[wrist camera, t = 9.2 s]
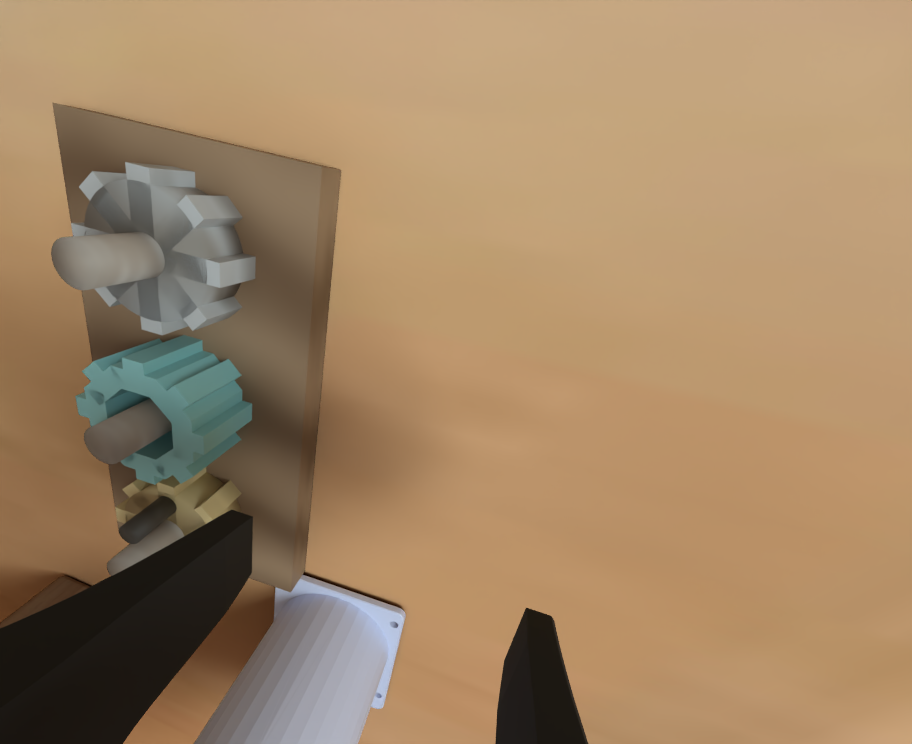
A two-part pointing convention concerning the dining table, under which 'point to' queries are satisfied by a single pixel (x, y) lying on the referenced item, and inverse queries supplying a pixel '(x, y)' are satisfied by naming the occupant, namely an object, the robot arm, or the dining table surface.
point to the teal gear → (170, 403)
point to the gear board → (254, 333)
